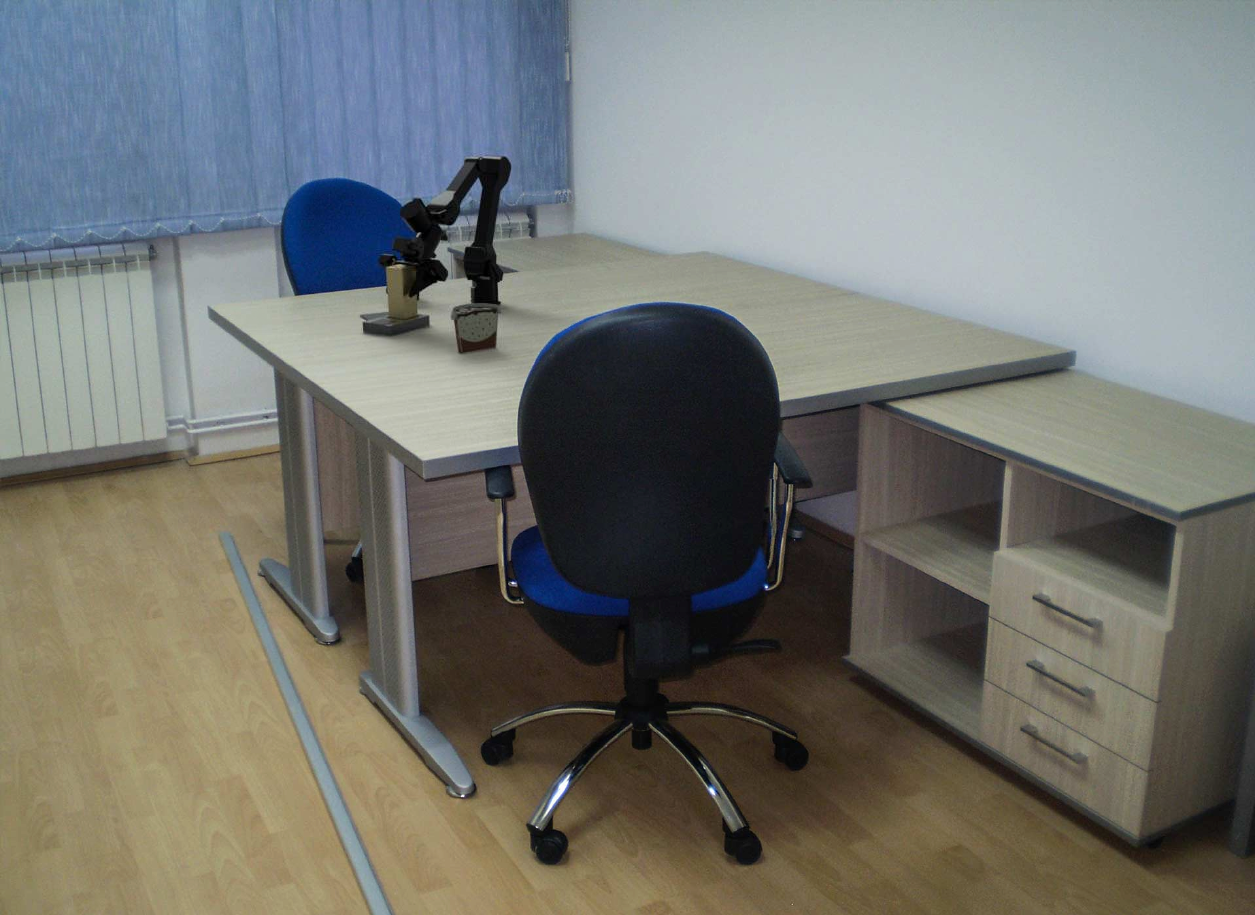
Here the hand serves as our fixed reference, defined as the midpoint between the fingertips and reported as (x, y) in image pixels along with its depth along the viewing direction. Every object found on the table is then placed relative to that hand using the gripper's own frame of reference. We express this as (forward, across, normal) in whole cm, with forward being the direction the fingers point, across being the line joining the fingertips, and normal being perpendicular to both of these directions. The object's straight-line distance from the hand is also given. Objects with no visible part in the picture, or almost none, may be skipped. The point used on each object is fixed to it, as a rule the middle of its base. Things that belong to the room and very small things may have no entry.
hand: (398, 295), depth 313 cm
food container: (+12, +29, 0) cm, 31 cm away
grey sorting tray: (+7, 0, +5) cm, 8 cm away
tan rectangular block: (+5, 0, +7) cm, 8 cm away
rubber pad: (+1, -11, +10) cm, 15 cm away
